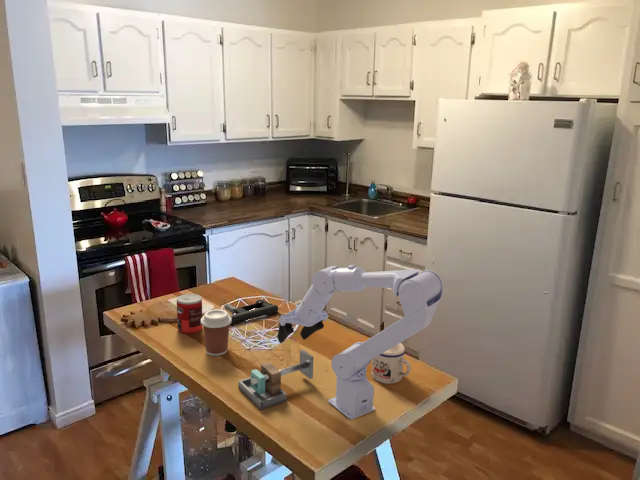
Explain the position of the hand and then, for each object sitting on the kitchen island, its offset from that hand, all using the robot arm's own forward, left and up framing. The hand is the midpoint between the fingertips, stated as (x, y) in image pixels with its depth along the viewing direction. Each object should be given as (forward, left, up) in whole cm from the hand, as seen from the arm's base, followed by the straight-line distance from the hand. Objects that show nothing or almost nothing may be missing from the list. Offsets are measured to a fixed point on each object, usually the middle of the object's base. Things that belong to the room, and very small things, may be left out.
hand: (291, 338), depth 142 cm
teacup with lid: (-15, -24, -12) cm, 31 cm away
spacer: (-3, +12, -10) cm, 16 cm away
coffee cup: (+25, +10, -12) cm, 30 cm away
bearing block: (-3, +8, -12) cm, 15 cm away
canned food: (+43, +11, -12) cm, 46 cm away
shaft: (-3, +5, -11) cm, 12 cm away
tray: (-3, +11, -12) cm, 16 cm away
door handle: (+46, -11, -13) cm, 49 cm away
